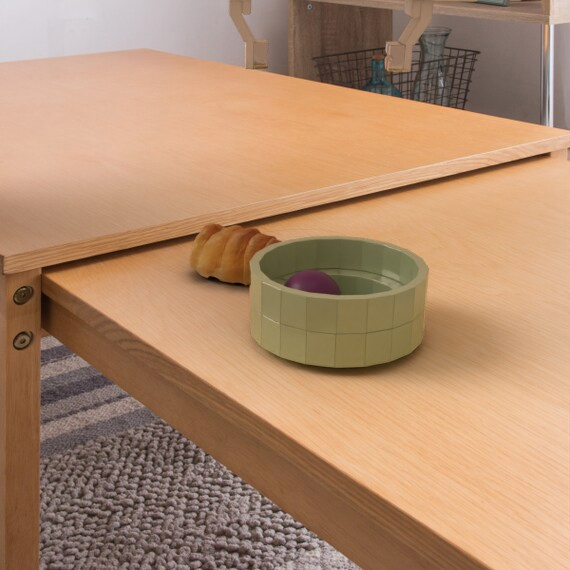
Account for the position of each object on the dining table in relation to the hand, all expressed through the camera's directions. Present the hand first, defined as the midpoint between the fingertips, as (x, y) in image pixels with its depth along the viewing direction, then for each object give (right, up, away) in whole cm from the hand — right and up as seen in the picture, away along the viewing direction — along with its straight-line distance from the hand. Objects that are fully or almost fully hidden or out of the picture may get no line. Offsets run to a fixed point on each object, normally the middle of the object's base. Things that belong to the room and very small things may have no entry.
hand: (327, 69), depth 62 cm
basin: (+1, -18, +5) cm, 19 cm away
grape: (-1, -15, +4) cm, 16 cm away
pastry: (-6, -13, +17) cm, 22 cm away
